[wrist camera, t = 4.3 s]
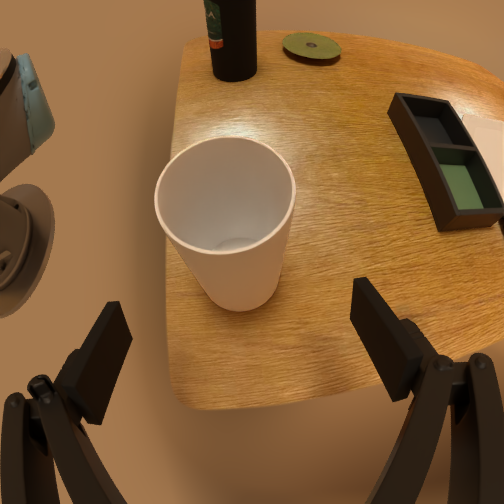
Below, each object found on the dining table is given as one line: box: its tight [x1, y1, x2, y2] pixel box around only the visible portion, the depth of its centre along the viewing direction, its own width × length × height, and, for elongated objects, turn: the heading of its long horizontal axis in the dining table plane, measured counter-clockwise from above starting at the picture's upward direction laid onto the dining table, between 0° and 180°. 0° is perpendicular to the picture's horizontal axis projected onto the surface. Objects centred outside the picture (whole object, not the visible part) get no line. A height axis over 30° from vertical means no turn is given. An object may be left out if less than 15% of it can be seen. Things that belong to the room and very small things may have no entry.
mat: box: [283, 33, 341, 59], centre depth 46 cm, size 11×11×2 cm
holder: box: [387, 93, 504, 232], centre depth 35 cm, size 11×21×5 cm, turn 6°
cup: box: [154, 136, 296, 312], centre depth 24 cm, size 8×8×16 cm
